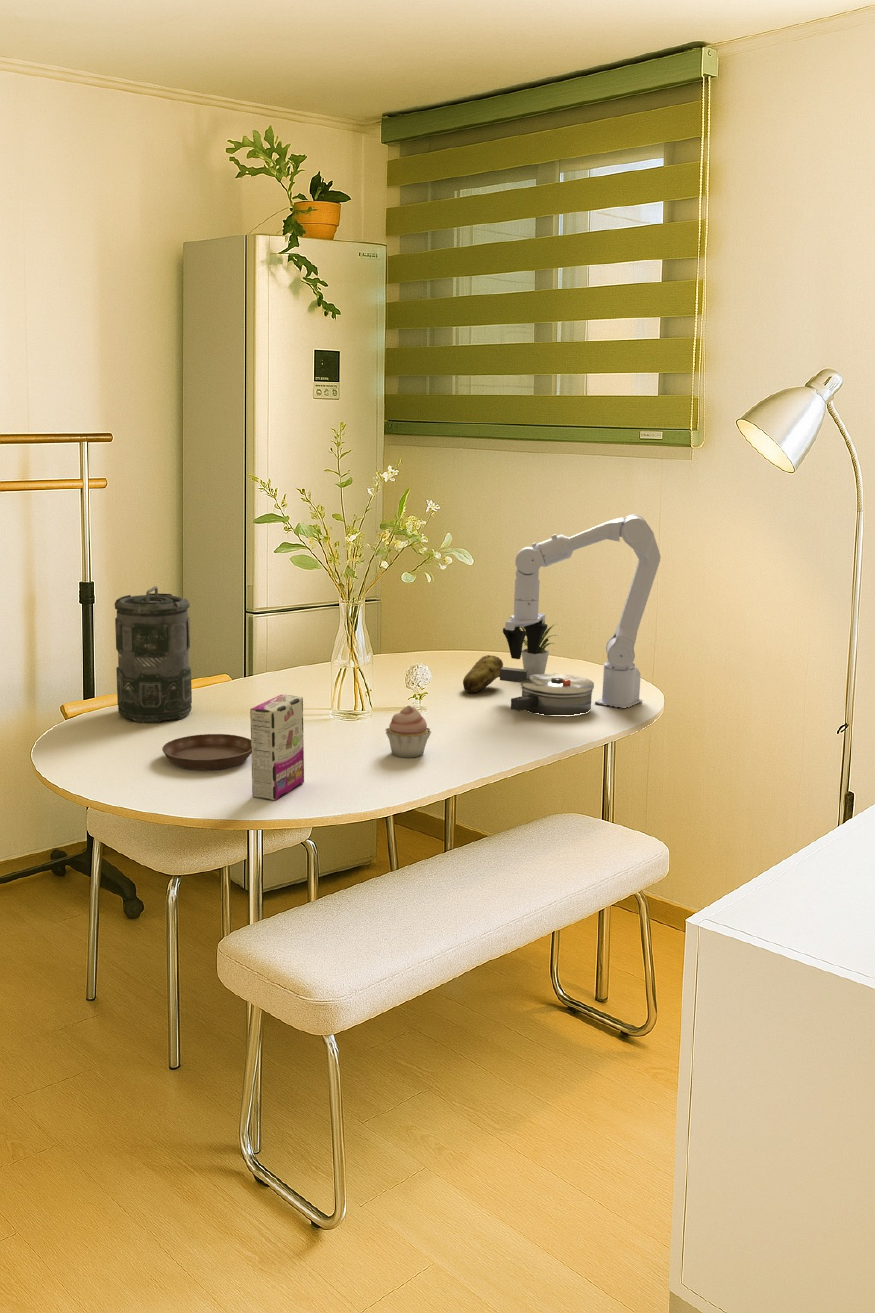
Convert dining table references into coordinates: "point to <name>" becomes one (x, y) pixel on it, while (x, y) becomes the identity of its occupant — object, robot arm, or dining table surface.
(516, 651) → the robot arm
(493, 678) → the potato
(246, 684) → the dining table surface
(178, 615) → the canister
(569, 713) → the pot
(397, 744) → the cupcake
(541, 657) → the house plant
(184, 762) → the plant saucer
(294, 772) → the candy bar box
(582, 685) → the lid
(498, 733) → the dining table surface
